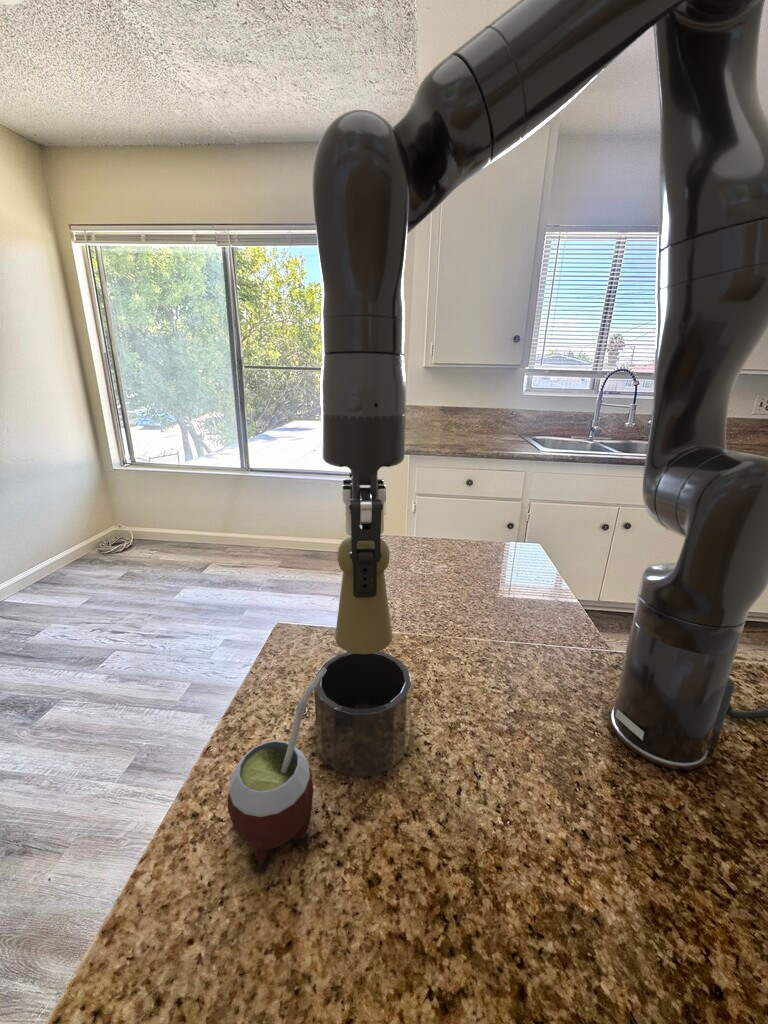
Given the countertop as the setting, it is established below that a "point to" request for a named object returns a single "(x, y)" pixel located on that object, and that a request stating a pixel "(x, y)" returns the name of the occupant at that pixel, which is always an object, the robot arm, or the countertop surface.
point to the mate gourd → (273, 792)
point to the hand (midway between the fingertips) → (363, 581)
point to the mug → (363, 713)
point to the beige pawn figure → (362, 606)
